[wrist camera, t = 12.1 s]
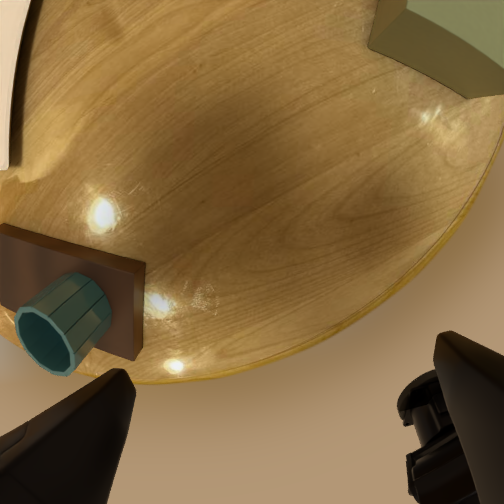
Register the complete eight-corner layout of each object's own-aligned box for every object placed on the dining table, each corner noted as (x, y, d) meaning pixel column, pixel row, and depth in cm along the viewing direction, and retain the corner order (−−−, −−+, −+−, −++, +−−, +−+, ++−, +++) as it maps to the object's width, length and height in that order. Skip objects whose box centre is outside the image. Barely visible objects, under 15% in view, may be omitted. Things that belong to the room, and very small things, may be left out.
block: (145, 262, 22) (134, 273, 20) (142, 347, 24) (134, 362, 22) (3, 223, 22) (-11, 229, 20) (12, 296, 25) (0, 305, 23)
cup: (121, 333, 22) (88, 379, 16) (72, 334, 22) (37, 373, 17) (96, 268, 20) (51, 305, 15) (47, 276, 21) (4, 308, 15)
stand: (468, 99, 15) (531, 92, 9) (366, 48, 15) (406, 8, 9) (479, 16, 12) (531, -9, 6) (385, -35, 12) (418, -84, 6)
